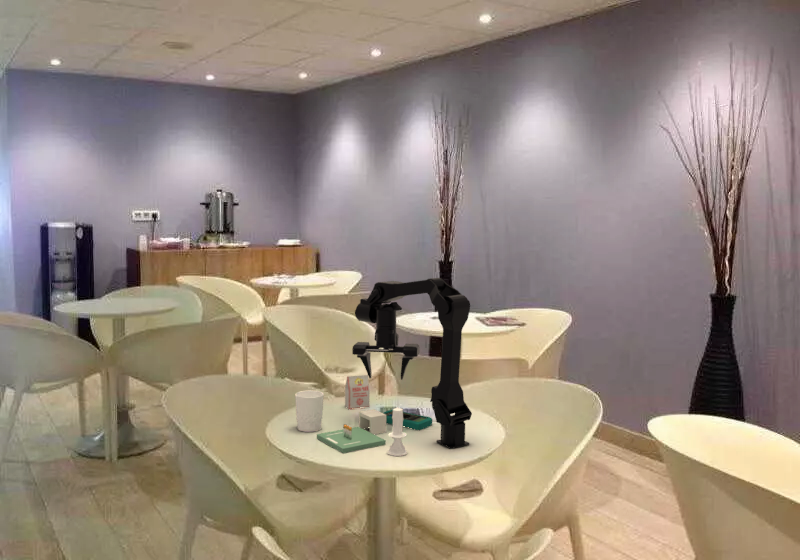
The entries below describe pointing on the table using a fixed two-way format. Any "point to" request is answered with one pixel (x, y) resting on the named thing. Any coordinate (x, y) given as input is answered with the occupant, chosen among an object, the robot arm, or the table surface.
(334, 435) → the header board
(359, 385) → the tea bag
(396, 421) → the candle
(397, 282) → the robot arm
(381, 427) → the block
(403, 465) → the table surface
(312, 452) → the table surface
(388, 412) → the digital multimeter
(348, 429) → the pins
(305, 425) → the white cup
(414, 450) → the table surface
